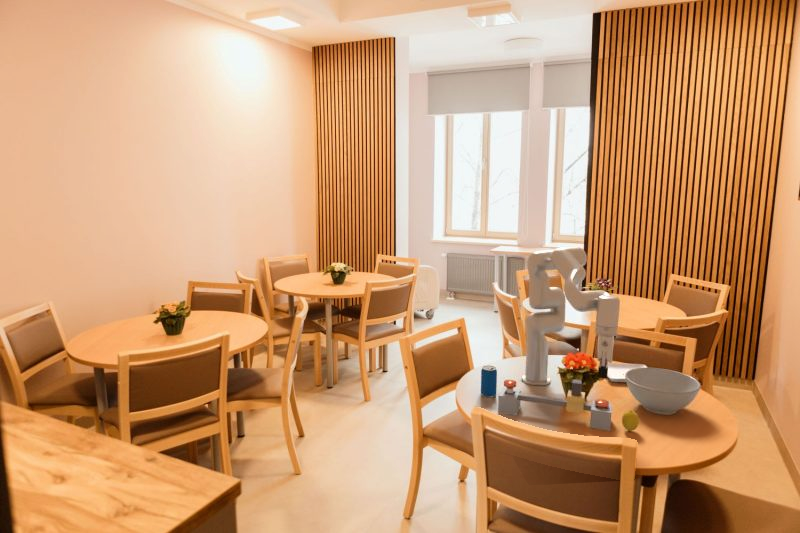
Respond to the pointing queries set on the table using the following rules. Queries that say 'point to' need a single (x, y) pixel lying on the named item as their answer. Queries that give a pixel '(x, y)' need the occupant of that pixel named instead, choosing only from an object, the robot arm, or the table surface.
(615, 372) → the salad plate
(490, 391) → the beverage can
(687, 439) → the table surface
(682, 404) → the decorative bowl
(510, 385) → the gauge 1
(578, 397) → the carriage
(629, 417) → the lemon
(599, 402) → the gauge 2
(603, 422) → the slide rail
